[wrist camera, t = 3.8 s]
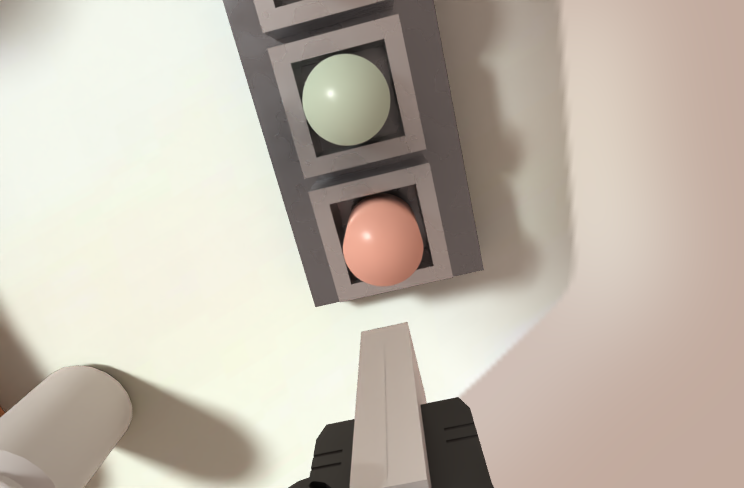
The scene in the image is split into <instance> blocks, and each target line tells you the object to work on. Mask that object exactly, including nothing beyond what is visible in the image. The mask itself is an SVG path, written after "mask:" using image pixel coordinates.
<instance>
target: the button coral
mask: <svg viewBox="0 0 744 488" xmlns="http://www.w3.org/2000/svg"><path fill="white" fill-rule="evenodd" d="M343 254H344V259H345V262H346V264H347V266H348V268H349V269H350V271H351V272H352V273H353V274H354V275H355V276H356V277H357V278H359V279H360V280H362V281H363V282H365V283H368V284H371V285H375V286H392V285H395V284H398V283H401V282H403V281H404V280H406V279H407V278H409V277H410V276H411V275H412V274H413V273H414V272H415V271H416V269H417V268H418V266H419V264H420V262H421V259H422V256H423V240H422V237H421V233H420V230H419V227H418V224H417V221H416V218H415V215H414V213H413V211H412V209H411V207H410V206H409V205H408V204H407V203H406V202H405V201H404V200H402V199H401V198H399V197H397V196H394V195H391V194H386V193H378V194H373V195H370V196H368V197H365V198H364V199H362V200H361V201H360V202H358V203H357V204H356V206H355V207H354V208H353V210H352V211H351V213H350V216H349V219H348V224H347V228H346V233H345V238H344V242H343Z"/></svg>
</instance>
